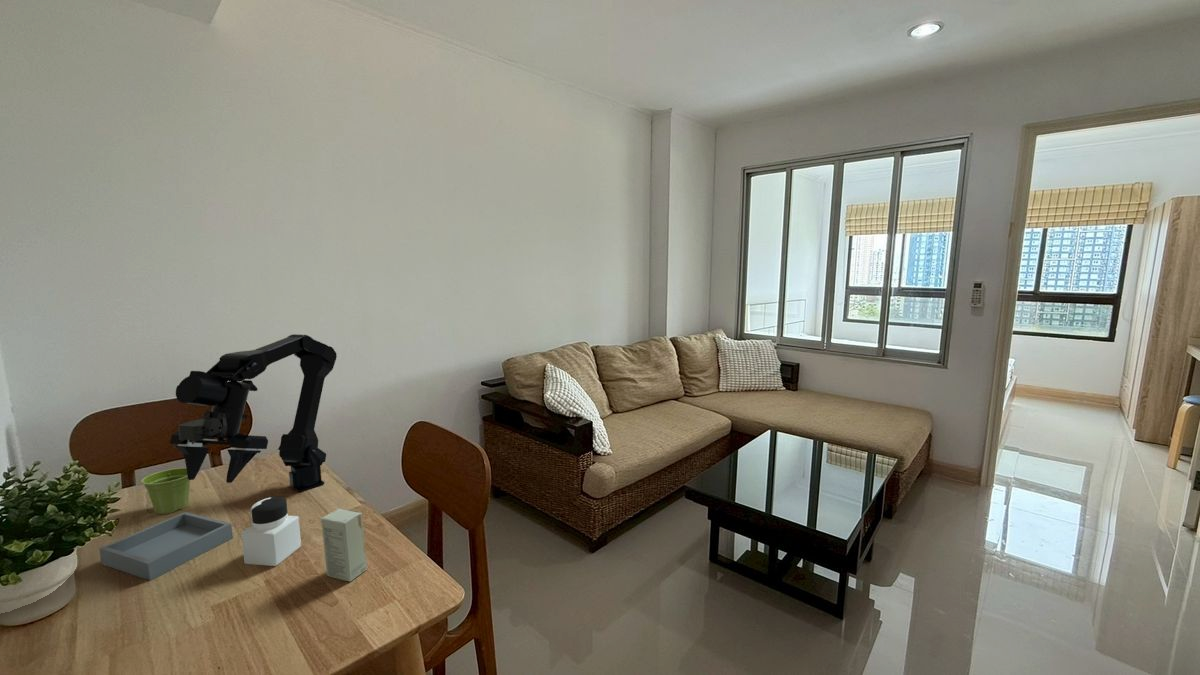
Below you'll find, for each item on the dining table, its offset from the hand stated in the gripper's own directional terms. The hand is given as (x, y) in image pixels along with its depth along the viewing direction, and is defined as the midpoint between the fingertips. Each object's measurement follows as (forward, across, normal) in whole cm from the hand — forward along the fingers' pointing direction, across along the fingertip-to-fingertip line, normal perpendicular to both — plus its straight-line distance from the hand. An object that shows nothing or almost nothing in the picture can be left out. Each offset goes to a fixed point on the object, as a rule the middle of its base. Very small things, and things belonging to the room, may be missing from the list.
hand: (209, 481), depth 100 cm
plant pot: (+9, -24, +15) cm, 30 cm away
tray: (+14, -6, +1) cm, 16 cm away
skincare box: (+15, +35, 0) cm, 38 cm away
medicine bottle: (+14, +16, +3) cm, 22 cm away
